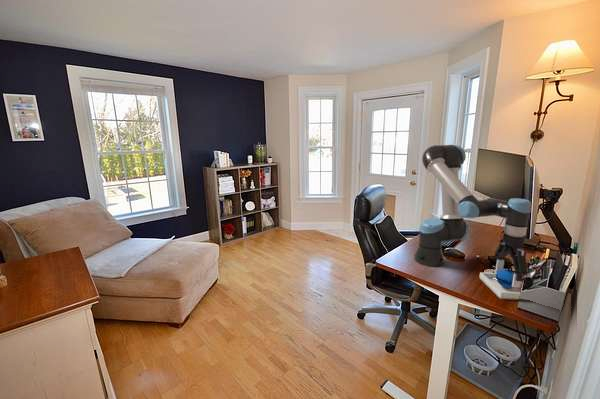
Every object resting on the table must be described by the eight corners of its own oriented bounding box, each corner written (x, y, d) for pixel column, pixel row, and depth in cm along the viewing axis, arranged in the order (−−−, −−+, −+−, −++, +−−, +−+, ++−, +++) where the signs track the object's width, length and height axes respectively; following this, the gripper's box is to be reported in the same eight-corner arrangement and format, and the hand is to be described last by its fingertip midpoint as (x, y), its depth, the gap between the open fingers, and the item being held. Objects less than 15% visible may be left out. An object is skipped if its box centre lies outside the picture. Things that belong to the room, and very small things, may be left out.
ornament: (489, 283, 122) (494, 264, 120) (502, 279, 125) (507, 261, 122) (508, 294, 115) (514, 274, 112) (522, 290, 117) (527, 270, 114)
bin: (500, 298, 112) (501, 292, 112) (479, 277, 129) (480, 272, 129) (535, 301, 110) (537, 294, 110) (509, 279, 127) (510, 274, 127)
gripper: (545, 245, 102) (535, 295, 107) (507, 225, 125) (500, 267, 130) (523, 244, 103) (514, 293, 108) (489, 225, 126) (483, 266, 131)
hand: (506, 279), depth 119 cm, fingers open, 12 cm apart
